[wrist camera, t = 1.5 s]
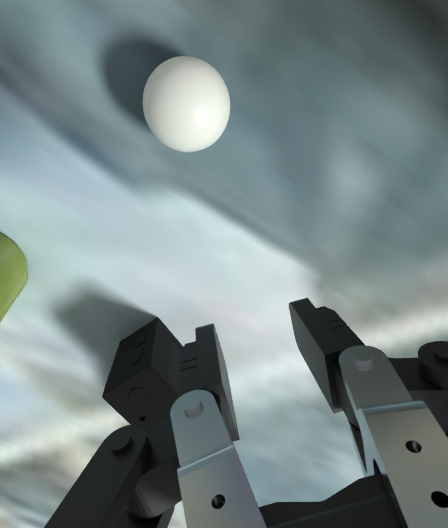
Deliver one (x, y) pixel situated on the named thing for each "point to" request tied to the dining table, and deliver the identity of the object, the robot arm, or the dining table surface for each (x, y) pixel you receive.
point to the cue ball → (186, 104)
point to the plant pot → (10, 273)
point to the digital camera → (145, 376)
